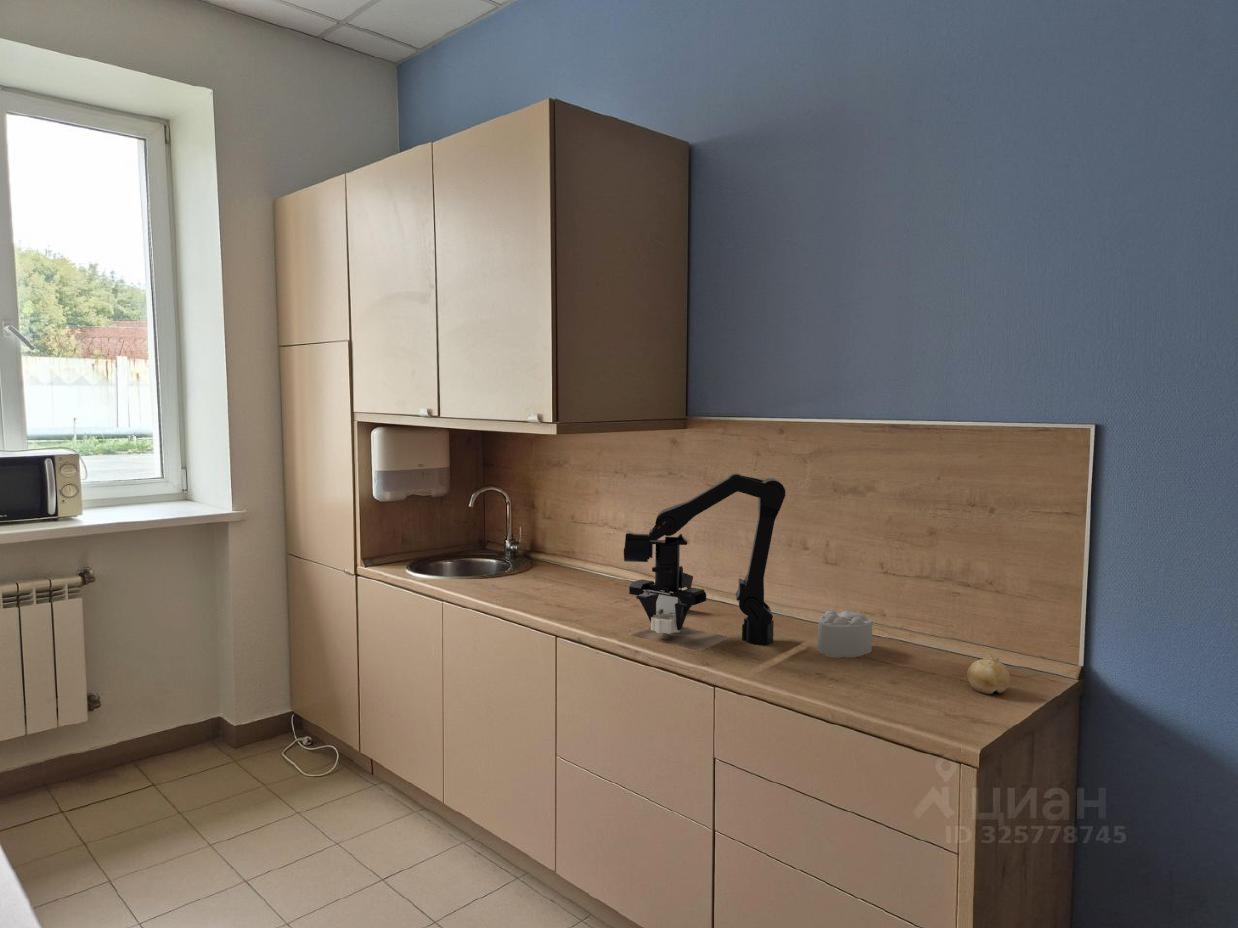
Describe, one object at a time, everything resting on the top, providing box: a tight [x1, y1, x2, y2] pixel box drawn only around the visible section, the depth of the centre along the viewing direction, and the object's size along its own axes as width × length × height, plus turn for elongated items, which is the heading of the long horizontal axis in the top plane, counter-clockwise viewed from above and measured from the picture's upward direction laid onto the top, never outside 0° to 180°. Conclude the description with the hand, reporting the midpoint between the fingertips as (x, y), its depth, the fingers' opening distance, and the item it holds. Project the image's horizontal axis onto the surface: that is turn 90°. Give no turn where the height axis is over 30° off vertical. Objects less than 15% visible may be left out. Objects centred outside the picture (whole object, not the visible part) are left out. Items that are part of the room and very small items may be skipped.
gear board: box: [630, 612, 732, 652], centre depth 204 cm, size 20×14×5 cm
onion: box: [966, 653, 1011, 695], centre depth 171 cm, size 8×8×7 cm
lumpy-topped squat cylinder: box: [817, 610, 873, 658], centre depth 198 cm, size 10×13×9 cm
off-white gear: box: [650, 612, 682, 634], centre depth 203 cm, size 7×7×3 cm
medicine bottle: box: [656, 588, 683, 614], centre depth 231 cm, size 7×7×12 cm
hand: (666, 627), depth 203 cm, fingers closed on off-white gear, 7 cm apart
